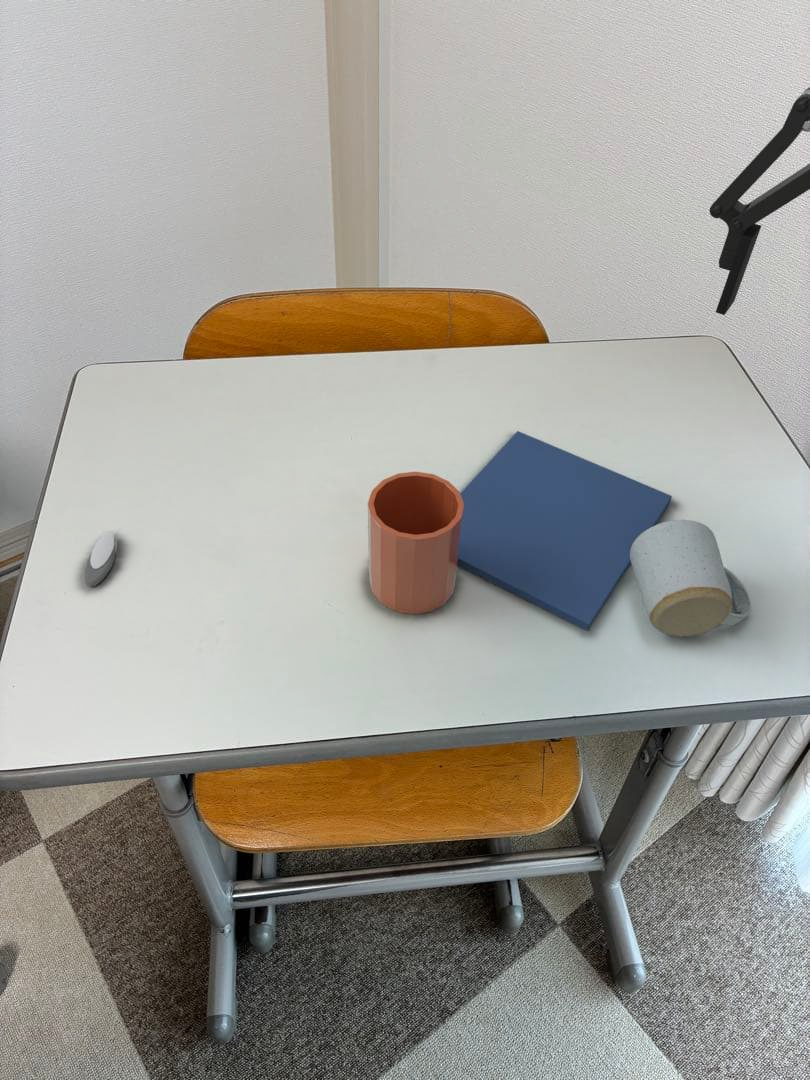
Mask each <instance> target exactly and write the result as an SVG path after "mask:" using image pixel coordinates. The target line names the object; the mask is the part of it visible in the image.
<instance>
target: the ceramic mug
mask: <svg viewBox="0 0 810 1080" xmlns="http://www.w3.org/2000/svg"><path fill="white" fill-rule="evenodd" d="M714 533H715V532H713V530H712V529H710V527H708V525H706V524H705V523H701V522H700V521H696V520H693V519H674V520H673V519H672V520H668V521H664V522H663V521H662V522H661V523H658V524H657V523H656V525H655V526H653V527H651V528H649V529H647V530H646V531H644V532H643V533H641V534H640V535H639V536H638V537H637V538H636V540H635V541H634V543H633V544H632V547H631V550H630V560H631V566H632V570H633V573H634V577H635V580H636V584H637V587H638V590H639V593H640V596H641V601H642V606H643V608H644V611H645V614H646V616H647V618H648V619H649V622H650V623H651V625H652V626H653V627H654V628H655V629H656V630H657V631H659V632H661V633H663V634H665V635H668V636H673V637H692V636H698V635H701V634H705V633H708V632H709V631H712V630H714V629H716V628H717V627H718V626H720V625H721V624H722V625H724V626H727V625H728V626H734V625H737V624H739V623H740V622H742V621H743V620H745V619H746V618H747V617H748V615H750V612H751V611H752V603H751V598H750V595H749V593H748V591H747V589H746V587H745V586H744V584H743V582H742V581H741V580H740V579H739V578H738V577H737V576H736V575H735V574H734V573H733V572H732V571H730V570H729V569H728V568H726V567H725V566H724V563H723V559H722V555H721V553H720V549H719V546H718V545H719V544H718V542H717V539H716V536H715V534H714ZM733 603H734V608H735V613H733V612H732V610H733V609H732V608H733Z"/></svg>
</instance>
